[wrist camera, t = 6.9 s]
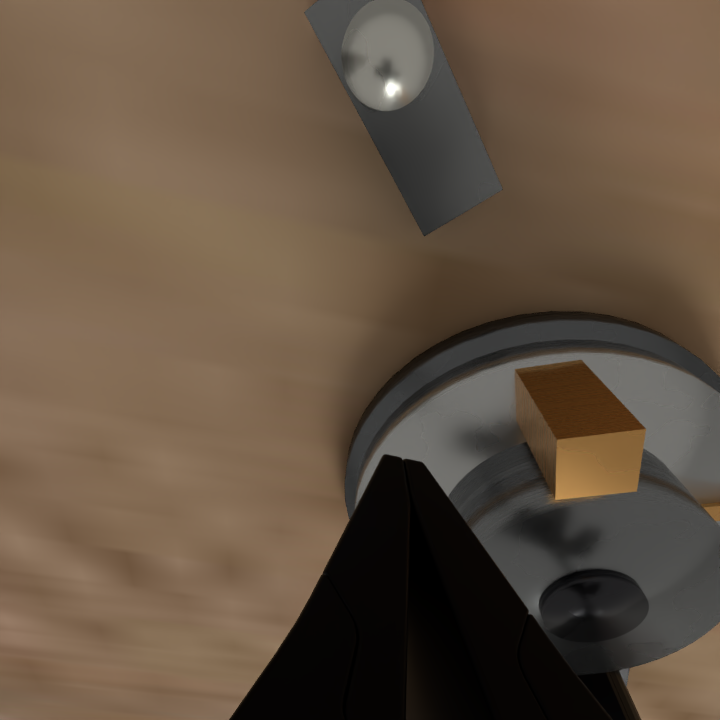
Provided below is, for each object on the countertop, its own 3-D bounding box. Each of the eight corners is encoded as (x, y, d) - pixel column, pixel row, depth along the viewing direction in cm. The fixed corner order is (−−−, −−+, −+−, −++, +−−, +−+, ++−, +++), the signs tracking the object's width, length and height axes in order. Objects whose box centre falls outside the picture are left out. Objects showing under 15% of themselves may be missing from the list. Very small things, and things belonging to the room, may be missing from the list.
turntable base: (692, 578, 21) (706, 597, 20) (381, 604, 23) (381, 622, 22) (768, 272, 14) (794, 281, 13) (305, 351, 16) (301, 363, 15)
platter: (699, 599, 20) (785, 722, 15) (387, 621, 21) (388, 736, 17) (783, 304, 13) (976, 380, 9) (318, 375, 15) (294, 465, 11)
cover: (660, 590, 18) (718, 682, 15) (447, 603, 19) (460, 692, 16) (702, 418, 14) (794, 496, 11) (427, 449, 15) (439, 527, 12)
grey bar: (487, 183, 13) (504, 190, 11) (419, 225, 13) (424, 237, 12) (391, -32, 11) (393, -68, 9) (314, 30, 11) (302, 9, 9)
